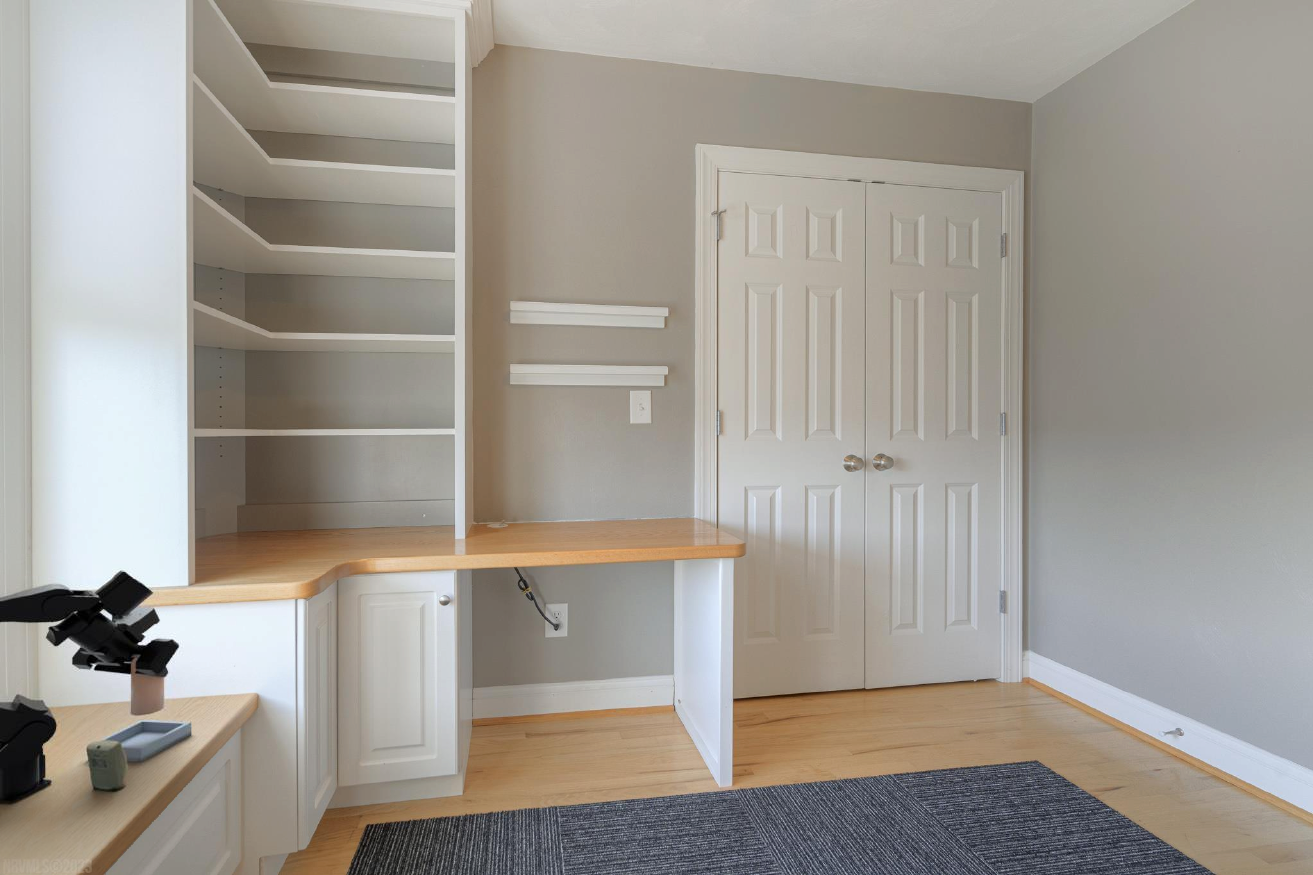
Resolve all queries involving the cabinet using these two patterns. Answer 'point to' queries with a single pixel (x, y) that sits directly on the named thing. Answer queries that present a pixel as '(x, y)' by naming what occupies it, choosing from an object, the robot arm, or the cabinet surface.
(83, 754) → the cabinet surface
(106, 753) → the power adapter
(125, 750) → the tray
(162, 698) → the peach rounded peg
